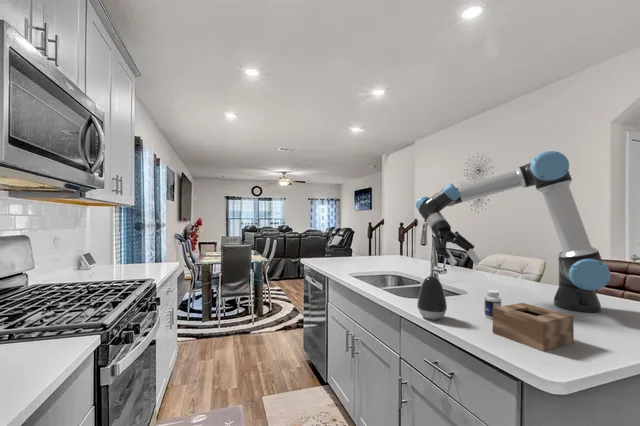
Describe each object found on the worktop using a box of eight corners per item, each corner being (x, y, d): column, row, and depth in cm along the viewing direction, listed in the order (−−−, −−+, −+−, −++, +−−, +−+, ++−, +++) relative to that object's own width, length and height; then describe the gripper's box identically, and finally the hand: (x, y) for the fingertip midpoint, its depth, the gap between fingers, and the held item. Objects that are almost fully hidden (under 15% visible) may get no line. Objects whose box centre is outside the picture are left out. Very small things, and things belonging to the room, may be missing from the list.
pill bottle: (481, 315, 117) (481, 289, 117) (494, 315, 118) (494, 289, 118) (490, 320, 112) (490, 292, 112) (504, 319, 112) (504, 292, 113)
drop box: (522, 326, 106) (522, 302, 106) (573, 342, 92) (573, 315, 92) (492, 332, 99) (492, 307, 99) (543, 351, 86) (542, 322, 86)
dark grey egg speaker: (445, 314, 117) (446, 274, 118) (447, 323, 108) (447, 279, 108) (417, 312, 121) (417, 272, 121) (416, 320, 111) (417, 277, 111)
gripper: (454, 230, 146) (481, 267, 133) (412, 230, 136) (438, 270, 122) (463, 219, 142) (493, 256, 128) (421, 218, 131) (449, 259, 117)
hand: (466, 263), depth 125 cm, fingers open, 13 cm apart
